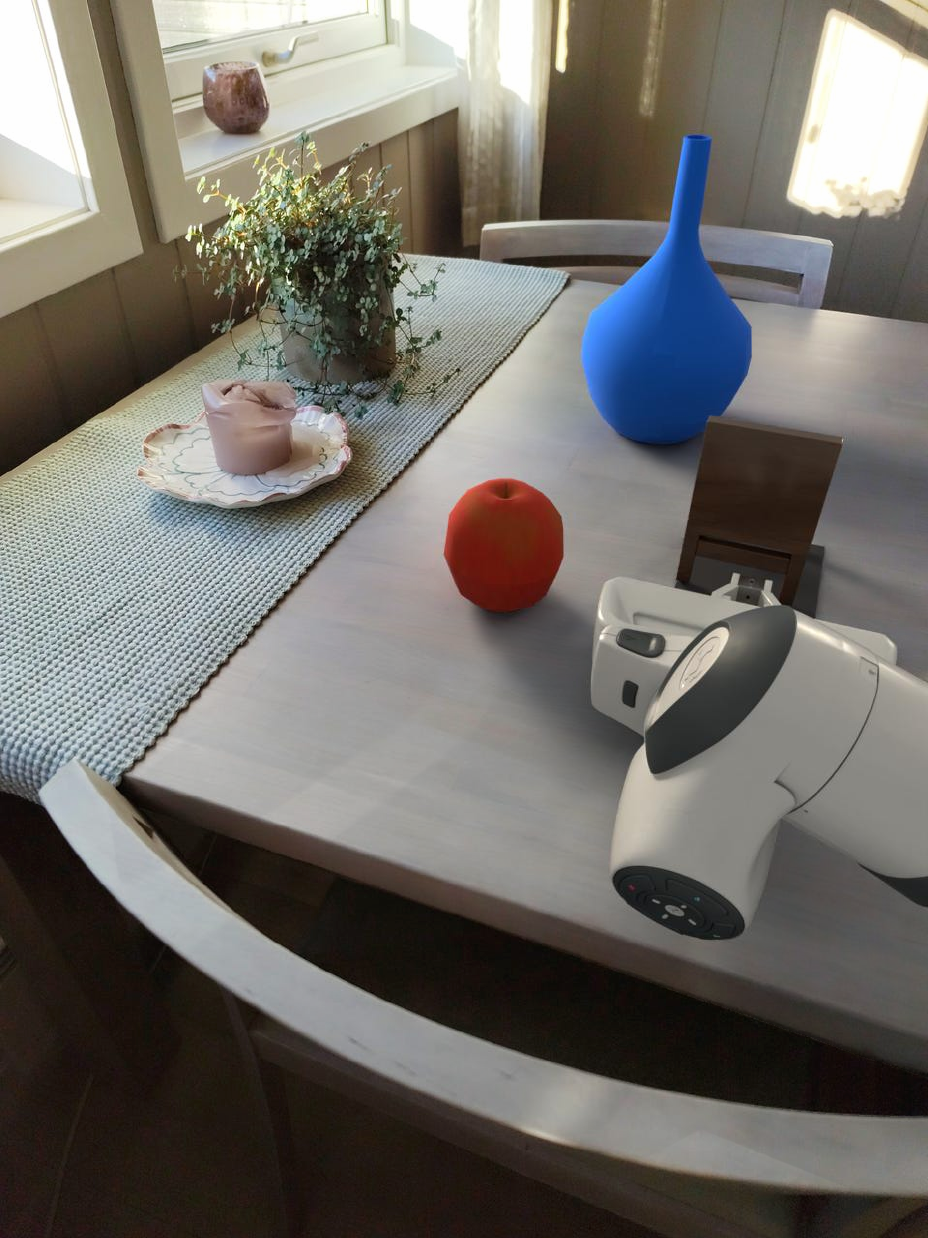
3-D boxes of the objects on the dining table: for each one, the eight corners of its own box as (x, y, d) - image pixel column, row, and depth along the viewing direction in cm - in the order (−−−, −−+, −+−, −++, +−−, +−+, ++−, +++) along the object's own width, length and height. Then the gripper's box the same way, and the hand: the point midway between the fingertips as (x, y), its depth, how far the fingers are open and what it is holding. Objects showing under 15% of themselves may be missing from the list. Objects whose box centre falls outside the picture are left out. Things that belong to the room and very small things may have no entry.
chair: (790, 610, 75) (842, 443, 64) (674, 584, 77) (706, 421, 67) (800, 547, 82) (849, 389, 71) (694, 526, 85) (726, 370, 74)
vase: (675, 380, 110) (719, 112, 91) (768, 444, 97) (842, 148, 78) (547, 406, 105) (566, 126, 85) (627, 477, 92) (670, 167, 73)
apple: (579, 616, 74) (592, 501, 67) (469, 644, 71) (470, 527, 64) (531, 552, 81) (537, 442, 74) (429, 574, 79) (426, 462, 71)
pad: (814, 623, 73) (814, 622, 73) (673, 591, 77) (673, 590, 77) (824, 547, 82) (824, 546, 82) (696, 521, 85) (697, 520, 85)
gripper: (911, 714, 51) (912, 580, 61) (575, 632, 57) (625, 522, 67) (879, 783, 55) (884, 647, 65) (569, 700, 61) (617, 587, 71)
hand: (751, 583), depth 66 cm, fingers closed
